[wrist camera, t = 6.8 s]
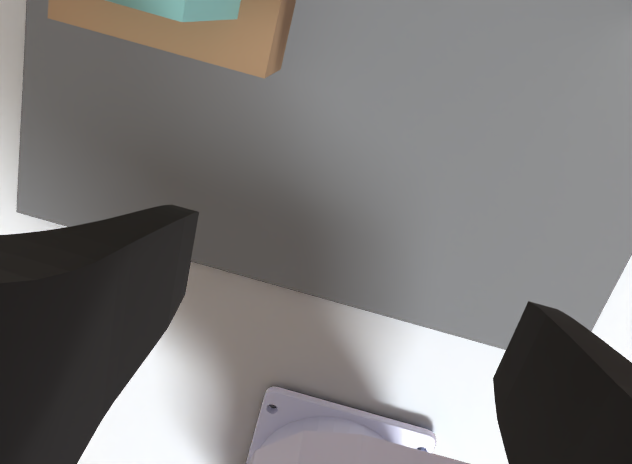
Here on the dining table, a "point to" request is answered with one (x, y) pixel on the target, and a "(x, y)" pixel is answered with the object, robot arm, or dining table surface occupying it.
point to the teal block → (186, 9)
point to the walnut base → (193, 31)
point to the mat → (362, 153)
